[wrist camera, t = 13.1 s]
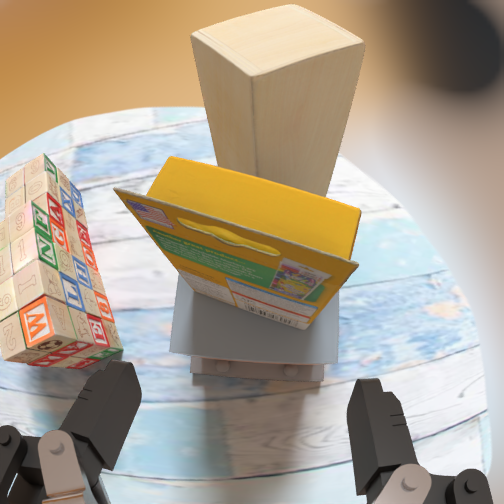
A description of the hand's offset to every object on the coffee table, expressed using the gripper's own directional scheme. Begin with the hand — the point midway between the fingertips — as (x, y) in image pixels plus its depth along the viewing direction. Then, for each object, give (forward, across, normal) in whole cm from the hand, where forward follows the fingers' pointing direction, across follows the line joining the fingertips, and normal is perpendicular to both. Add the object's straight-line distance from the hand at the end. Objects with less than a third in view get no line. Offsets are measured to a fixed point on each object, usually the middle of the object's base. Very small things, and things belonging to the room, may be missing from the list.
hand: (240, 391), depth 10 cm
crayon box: (+9, 0, +1) cm, 9 cm away
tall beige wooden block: (+26, 0, +1) cm, 26 cm away
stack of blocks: (+20, +21, +7) cm, 30 cm away
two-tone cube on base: (+17, 0, +9) cm, 19 cm away
